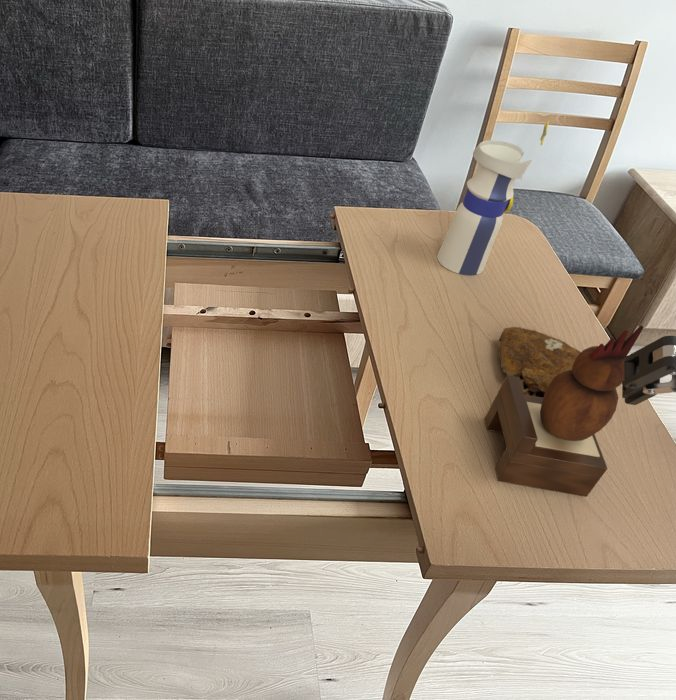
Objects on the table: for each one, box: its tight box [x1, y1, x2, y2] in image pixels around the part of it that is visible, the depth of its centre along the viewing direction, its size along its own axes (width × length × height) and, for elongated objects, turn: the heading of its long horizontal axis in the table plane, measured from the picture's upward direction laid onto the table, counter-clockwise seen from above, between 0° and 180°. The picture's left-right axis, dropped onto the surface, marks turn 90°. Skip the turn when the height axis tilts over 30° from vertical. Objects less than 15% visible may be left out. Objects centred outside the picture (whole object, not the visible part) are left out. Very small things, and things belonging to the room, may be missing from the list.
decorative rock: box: [497, 326, 582, 397], centre depth 92 cm, size 11×4×15 cm
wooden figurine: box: [540, 325, 645, 441], centre depth 74 cm, size 7×6×15 cm
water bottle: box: [436, 120, 550, 276], centre depth 106 cm, size 8×9×25 cm
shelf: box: [484, 374, 608, 497], centre depth 80 cm, size 10×10×8 cm
